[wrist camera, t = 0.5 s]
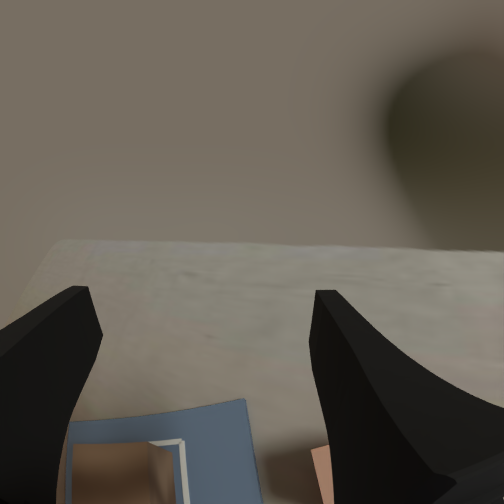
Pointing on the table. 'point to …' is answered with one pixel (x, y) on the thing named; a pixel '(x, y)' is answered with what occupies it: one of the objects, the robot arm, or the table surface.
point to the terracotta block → (324, 472)
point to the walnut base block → (122, 474)
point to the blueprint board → (187, 450)
